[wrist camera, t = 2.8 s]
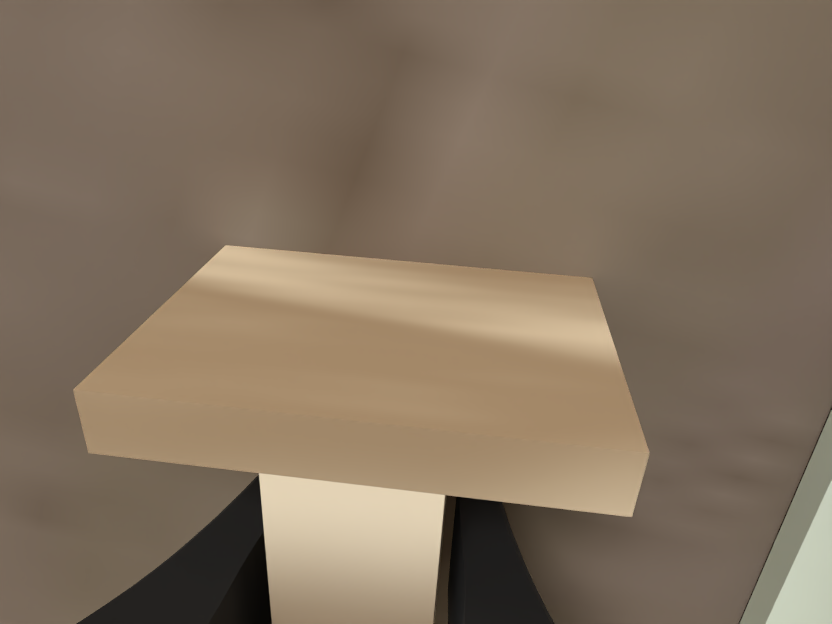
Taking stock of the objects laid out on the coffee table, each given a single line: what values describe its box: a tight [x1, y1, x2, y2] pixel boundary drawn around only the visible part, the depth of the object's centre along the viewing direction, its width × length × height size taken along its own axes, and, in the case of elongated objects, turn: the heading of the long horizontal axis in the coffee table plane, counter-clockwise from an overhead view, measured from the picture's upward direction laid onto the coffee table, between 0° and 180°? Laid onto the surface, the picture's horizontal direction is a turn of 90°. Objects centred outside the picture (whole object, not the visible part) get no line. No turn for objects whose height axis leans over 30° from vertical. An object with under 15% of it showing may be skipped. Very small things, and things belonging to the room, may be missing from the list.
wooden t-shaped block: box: [73, 245, 650, 624], centre depth 12 cm, size 8×7×5 cm
